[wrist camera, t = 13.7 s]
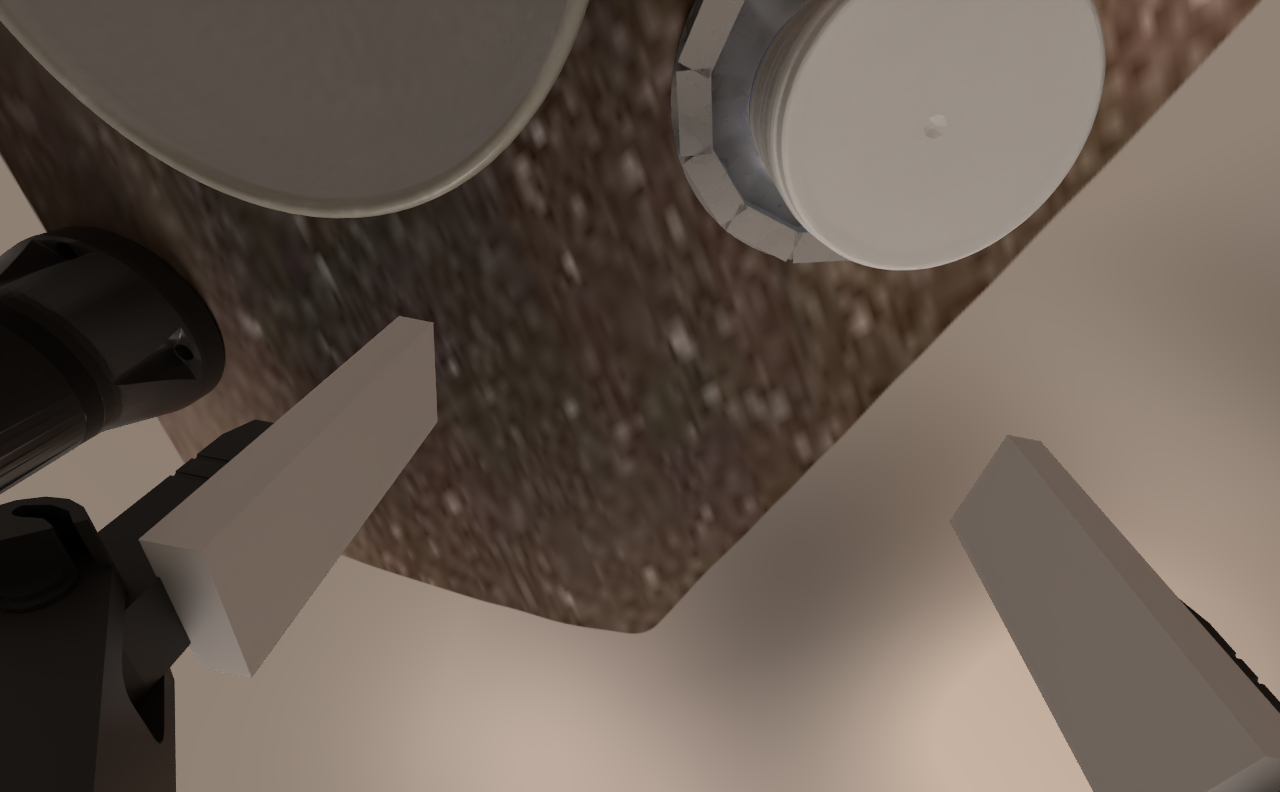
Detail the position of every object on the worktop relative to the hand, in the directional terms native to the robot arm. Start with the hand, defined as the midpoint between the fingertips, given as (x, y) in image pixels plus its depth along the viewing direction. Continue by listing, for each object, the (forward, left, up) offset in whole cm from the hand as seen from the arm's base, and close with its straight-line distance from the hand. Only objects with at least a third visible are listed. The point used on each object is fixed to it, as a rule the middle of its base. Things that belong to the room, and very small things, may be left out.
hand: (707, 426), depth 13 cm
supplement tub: (-1, +8, -24) cm, 25 cm away
